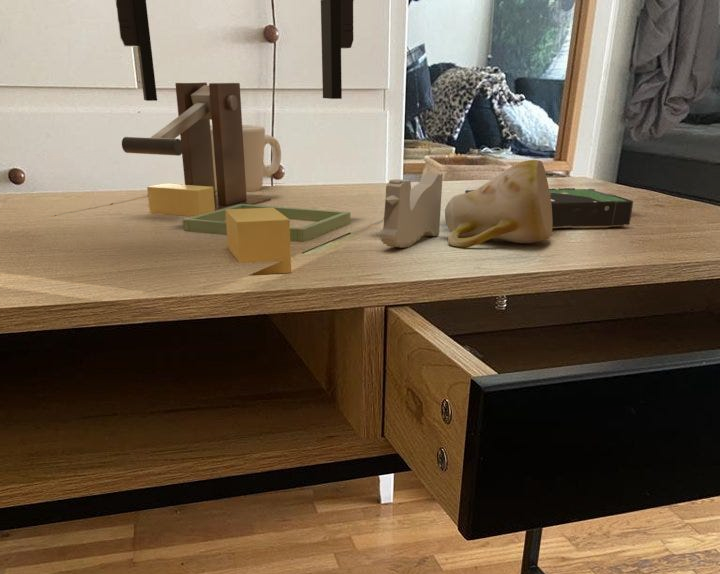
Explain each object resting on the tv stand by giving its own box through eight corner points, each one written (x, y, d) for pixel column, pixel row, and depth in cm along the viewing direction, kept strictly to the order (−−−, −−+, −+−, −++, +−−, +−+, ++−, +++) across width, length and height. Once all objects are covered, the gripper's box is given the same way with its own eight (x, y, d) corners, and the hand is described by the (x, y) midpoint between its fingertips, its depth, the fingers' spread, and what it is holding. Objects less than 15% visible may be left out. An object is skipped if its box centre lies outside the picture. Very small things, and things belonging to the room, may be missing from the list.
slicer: (225, 223, 79) (214, 83, 73) (160, 217, 82) (145, 82, 76) (271, 209, 87) (265, 82, 81) (211, 204, 90) (201, 82, 84)
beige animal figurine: (438, 236, 74) (391, 253, 66) (425, 234, 74) (377, 251, 67) (442, 172, 71) (394, 182, 63) (429, 171, 72) (379, 181, 64)
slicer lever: (178, 163, 72) (171, 137, 70) (126, 160, 74) (117, 135, 72) (243, 110, 80) (238, 85, 78) (194, 108, 82) (188, 84, 80)
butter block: (150, 222, 79) (146, 186, 77) (168, 218, 81) (164, 183, 80) (200, 227, 77) (197, 190, 75) (216, 222, 79) (213, 186, 78)
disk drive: (492, 233, 75) (631, 227, 78) (495, 203, 74) (636, 198, 76) (461, 216, 84) (587, 211, 87) (463, 189, 83) (590, 185, 85)
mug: (444, 232, 76) (502, 138, 72) (522, 287, 74) (587, 193, 70) (420, 224, 69) (483, 120, 65) (506, 284, 67) (576, 180, 63)
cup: (264, 189, 102) (260, 123, 98) (298, 195, 97) (296, 126, 93) (192, 195, 96) (185, 125, 92) (224, 203, 91) (219, 129, 87)
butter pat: (291, 272, 60) (289, 219, 58) (240, 275, 58) (237, 221, 57) (275, 257, 65) (273, 207, 63) (228, 259, 63) (224, 209, 62)
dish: (184, 241, 70) (182, 219, 69) (241, 224, 78) (240, 203, 77) (303, 253, 66) (303, 229, 65) (350, 233, 74) (350, 211, 73)
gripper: (389, -243, 53) (385, 96, 63) (6, -287, 47) (68, 99, 57) (430, -286, 47) (418, 98, 57) (-7, -344, 40) (66, 102, 50)
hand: (244, 100), depth 57 cm, fingers open, 13 cm apart
